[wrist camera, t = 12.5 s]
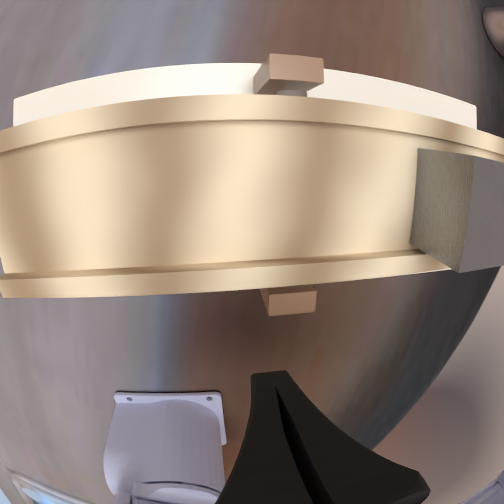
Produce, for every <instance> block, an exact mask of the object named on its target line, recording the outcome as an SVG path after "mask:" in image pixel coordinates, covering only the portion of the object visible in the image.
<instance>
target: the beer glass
mask: <svg viewBox="0 0 504 504" xmlns="http://www.w3.org/2000/svg"><path fill="white" fill-rule="evenodd" d="M482 18H483V24H484V27H485V30H486V33H487V35H488V37H489V39H490V41H491V43H492V45H493V46H494V48H495V49H496V50H497V52H498V53H499V54H500V55H501V56H502V57H504V6H490V7H486V8H485V9H484V10H483V15H482Z"/></svg>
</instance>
